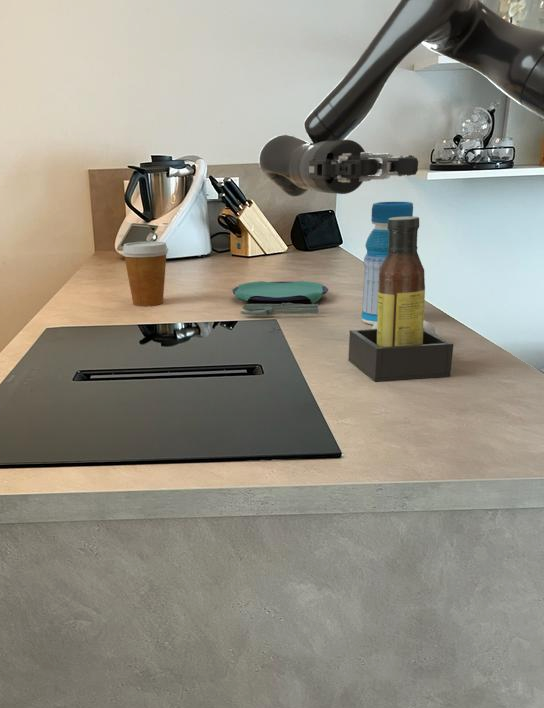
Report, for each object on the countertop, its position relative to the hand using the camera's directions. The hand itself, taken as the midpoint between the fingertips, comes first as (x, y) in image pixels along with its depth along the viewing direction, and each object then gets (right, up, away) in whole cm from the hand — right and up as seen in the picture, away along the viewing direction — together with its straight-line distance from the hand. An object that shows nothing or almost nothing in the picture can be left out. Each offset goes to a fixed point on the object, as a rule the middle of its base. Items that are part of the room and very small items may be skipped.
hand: (387, 167), depth 106 cm
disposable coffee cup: (-35, -5, +58) cm, 68 cm away
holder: (+3, -26, +5) cm, 27 cm away
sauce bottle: (+3, -26, +5) cm, 27 cm away
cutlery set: (-8, -6, +53) cm, 54 cm away
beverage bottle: (+8, -14, +33) cm, 37 cm away
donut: (+7, -21, +19) cm, 29 cm away
